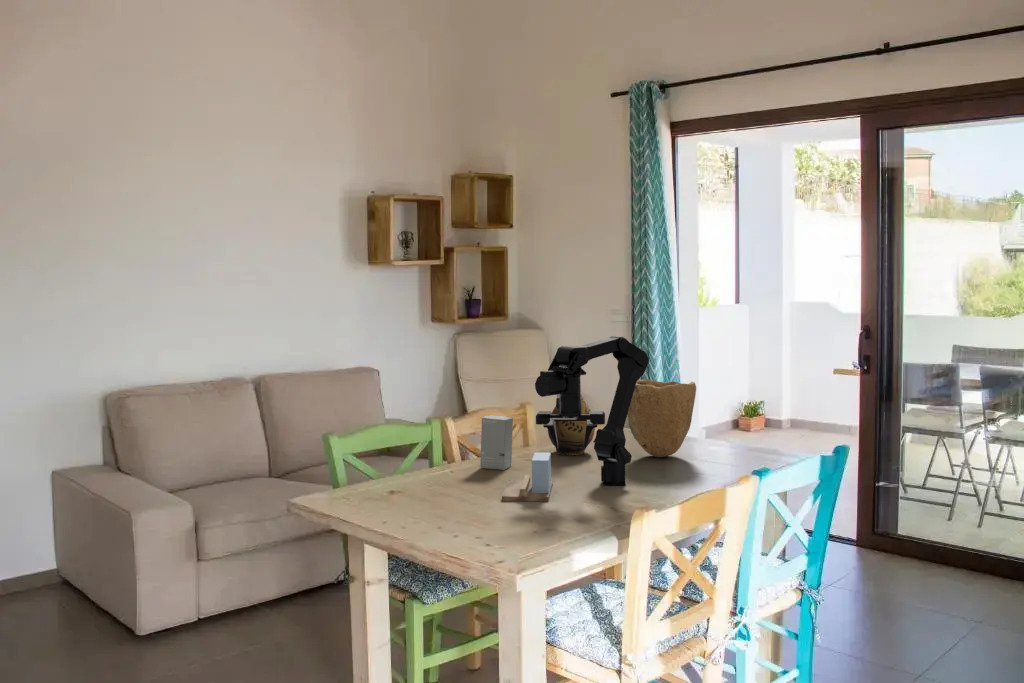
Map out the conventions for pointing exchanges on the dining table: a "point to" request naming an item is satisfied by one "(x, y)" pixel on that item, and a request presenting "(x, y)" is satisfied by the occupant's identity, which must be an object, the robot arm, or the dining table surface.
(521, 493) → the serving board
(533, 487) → the blue block
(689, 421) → the brown stone pot
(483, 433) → the skincare box
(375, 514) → the dining table surface
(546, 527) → the dining table surface
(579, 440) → the ceramic jug
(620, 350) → the robot arm
